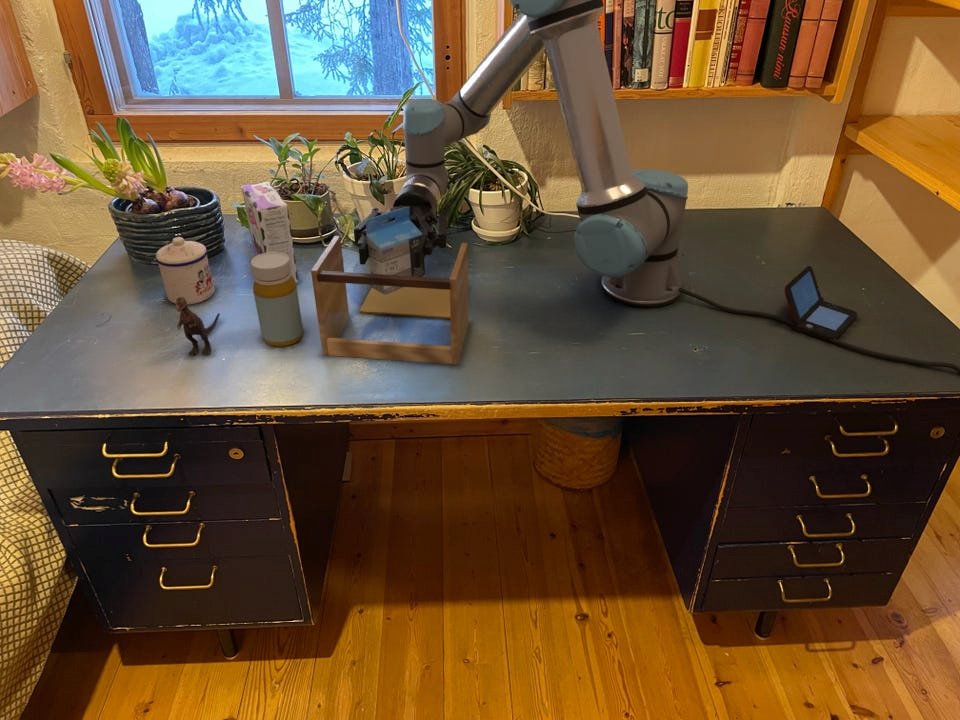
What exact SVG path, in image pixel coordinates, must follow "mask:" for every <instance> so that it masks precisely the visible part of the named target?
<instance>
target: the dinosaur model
mask: <svg viewBox="0 0 960 720" xmlns="http://www.w3.org/2000/svg"><path fill="white" fill-rule="evenodd" d="M175 310H176V312H178V313H180V314H179V321H178V323H177V325H176V328H177V329H178V330H179V331H180V330H181V328H182V325H183V332H184V336H185V338H186V339H187V340H188V341H190V343H191V346H192V348H191V350H190V351H189V352H188V356H190V357H191V356H192V357H194V356H197V355H198V353H199V340H197V339H196V338H195V337H193V336H200V338H201V341H203V342H204V343H203V344H204V345H203V346H204V347H203V349H202V350H201V355H202V356H204V357H206V356H209V355H211V353H212V345H211V342H210V341H209V338H208V333H210V332H211V331H212V330H213V329H214V328H215V326H216V323H217V322H218V320H219V318H220V315H221V313H219V312H218V313H217V315H216V316H215V318H214V319H213V322H212V323H211V325H210V326H208V327H206V328H205V324H204V322H203V321H204V320H202V319H201V317H200V316H198V314H196V313H195V312H193V311H192V310H191V309H190V308H189V306H188V305H187V301H186V300H185V298H184V297H179V298H177V299H176V304H175Z"/></svg>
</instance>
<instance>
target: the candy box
mask: <svg viewBox="0 0 960 720" xmlns="http://www.w3.org/2000/svg"><path fill="white" fill-rule="evenodd" d="M240 187H241V193H242V198H243V202H244V207H245V213H246V218H247V223H248V229H249V233H250V239H251V245H252V249H253V254H254V257H255V256H257V255H260V254H263V253H268V252H280V253H284V254H286V255H287V256H288V257H289V259H290V265H291V273H292V277H293V278H294V280H295V282H296V284H298V283H299V276H298V268H297V262H296V256H295V255H296V254H295V248H294V240H293V234H292V227H291V220H290V212H289V206H288V204H287V202H285V201H284V199H283V198H282V197H281V195H280V194H279V192H278V191H277V190H276V189H275V187H274V186H273V185H272V183H271V182H270V181H269V180H267V181H262V182H256V183H252V184H250V183H249V184H244V185H241V186H240Z"/></svg>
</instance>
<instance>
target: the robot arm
mask: <svg viewBox="0 0 960 720" xmlns="http://www.w3.org/2000/svg"><path fill="white" fill-rule="evenodd" d="M508 1H509V3H510V5H511V6H512V7H513V8H514V9H515V10H517V11H518V12H519V13H518V14H517V16H516V17H515V18H514V19H513V21H512V22H511V23H510V24H509V26H507V28H506V29H505V30H504V32H503V33H502V35H500V37H499V38H498V40H497V41H496V42H495V44H494V45H493V46H492V47H491V49H490V50H489V51H488V53H487V54H486V55H485V56H484V58H483V59H482V60H481V61H480V63H479V64H478V65H477V66H476V68H475V69H474V70H473V72H472V73H471V74H470V75H469V76H468V78H467V79H466V80H465V82H464V83H463V84H462V85H461V87H460V89H459V90H458V91H457V92H456V93H455V95H454V96H453V97H452V98H451V99H450V100H449V101H446V102H444V103H442V102H441V101H439V100H436V99H432V98H419V99H413V100H410V101H408V102H406V103H405V104H404V106H403V111H402V112H403V122H402V129H403V141H404V154H405V155H404V156H405V174H406V176H405V177H406V179H405V182H404V184H403V185H402V186H401V189H400V191H399V192H398V194H397V196H396V197H395V200H394V201H393V204H392V207H391V208H389V209H387V211H382V210H380V209H379V208H378V207H373V208H371V211H370V214H368V215H367V216H366V217H364V219H363V220H361V221H360V222H359V223H358V224H357V225H355V227H354V228H353V239H354V243H355V244H357V245H358V256H359V257H358V258H359V264H360V265H364V266H365V265H366V264H367V261H369V254H368V245H367V236H366V234H367V230H366V220H367V219H370V218H373V217H376V216H379V215H382V214H385V213H389V212H392V211H395V210H398V209H401V208H404V207H408V206H409V207H410V208H409V219H410V221H411V222H412V223H413V224H414V225H415V226H416V227H417V228H418V230H419V231H420V232H421V233H422V234H423V235H422V237H421V239H420V242H419V244H418V246H417V248H416V251H415V263H416V268H420V267H421V265H422V263H423V260H424V261H425V258H426V256H431V255H432V254H433V252H434V249H436V247H438V248H440V249H446V248H447V231H446V230H447V228H448V226H449V213H448V211H446V210H445V211H441V212H440V213H436V212H437V209H438V207H439V205H440V202H441V200H442V199H443V198H442V197H443V195H444V194H445V193H446V191H447V188H448V184H449V172H448V169H447V167H446V155H445V153H446V150H445V149H446V148H445V147H448V146H450V145H452V144H454V143H456V142H459V141H461V140H463V139H466V138H468V137H470V136H473V135H476V134H478V133H479V132H481V131H482V130H483V129H485V128H486V127H487V126H488V125H489V123H490V120H491V116H492V113H493V111H495V109H496V108H497V107H498V106H499V104H500V103H502V101H503V100H504V99H505V98H506V97H507V95H508V94H509V93H510V92H511V91H512V90H513V88H514V87H515V86H516V85H517V84H518V83H519V82H520V80H521V79H522V78H523V77H524V76H525V74H526V73H527V72H528V71H529V70H530V69H531V68H532V67H533V66H534V64H535V63H536V62H537V61H538V60H539V58H540V57H541V56H542V55H543V54H544V53H545V54H546V58H547V62H548V65H549V70H550V73H551V78H552V81H553V85H554V88H555V92H556V96H557V100H558V105H559V107H560V111H561V115H562V119H563V122H564V127H565V131H566V135H567V139H568V141H569V146H570V149H571V154H572V156H573V160H574V165H575V170H576V173H577V177H578V180H579V184H580V188H581V192H580V194H579V195H578V197H577V200H576V201H575V205H576V208H577V213H578V217H579V221H580V222H579V223H578V226H577V227H576V230H575V233H574V237H573V243H574V244H573V245H574V249H575V254H576V255H577V257H578V258H579V260H580V262H581V263H582V264H583V265H584V266H585V267H586V268H587V269H588V270H591V271H593V272H594V273H595V274H596V275H599V276H602V277H601V284H600V287H601V289H602V291H603V293H604V294H605V295H606V296H607V297H608V298H610V299H612V300H613V301H615V302H617V303H620V304H623V305H626V306H631V307H637V308H659V307H663V306H668V305H671V304H672V303H675V302H676V301H677V300H678V299H679V298H680V296H681V294H684V295H687V296H689V297H692V298H694V299H696V300H699V301H701V302H704V303H705V304H708V305H710V306H712V307H713V308H716V309H719V310H721V311H724V312H729V313H732V314H740V315H747V316H756V317H763V318H768V319H772V320H775V321H779V322H781V323H784V324H786V325H789V326H791V327H793V325H794V323H795V322H794V320H793V321H792V320H791V319H788V318H785V317H783V316H779V315H776V314H772V313H768V312H763V311H758V310H757V311H755V310H746V309H739V308H733V307H729V306H725V305H723V304H720V303H717V302H715V301H713V300H711V299H709V298H707V297H705V296H702V295H699V294H697V293H695V292H692V291H690V290H687V289H684V288H682V287H683V280H682V275H681V269H680V264H679V259H678V254H679V253H678V252H679V246H680V241H681V234H682V228H683V223H684V218H685V211H686V205H687V200H688V199H689V196H688V191H689V183H688V181H687V180H686V178H684V177H683V176H681V175H679V174H675V173H673V172H669V171H666V170H665V171H664V170H659V169H652V168H651V169H648V168H636V169H632V167H631V162H630V157H629V153H628V148H627V145H626V140H625V136H624V132H623V128H622V123H621V119H620V114H619V109H618V106H617V105H618V104H617V101H616V97H615V93H614V88H613V84H612V80H611V75H610V72H609V71H610V70H609V68H608V62H607V59H606V55H605V49H604V45H603V41H602V38H601V32H600V29H599V24H598V23H599V20H600V18H601V17H602V14H603V12H604V10H605V6H604V2H603V0H508ZM394 220H395V218H391V219H390V218H387V219H386V220H385V221H382V222H381V225H383V224H386V223H389V222H392V221H394ZM433 223H434V224H435V225H436V228H437V234H436V233H435V231H436V230H435V229H432V228H431V226H430V225H432V224H433ZM829 342H831V343H833V344H835V345H838V346H841V347H843V348H846V349H849V350H852V351H855V352H859V353H861V354H865V355H868V356H873V357H875V358H876V357H877V358H882V359H885V360H891V361H896V362H903V363H907V364H914V365H918V366H922V367H923V366H924V367H936V368H937V367H938V368H948V369H952V370H954V371H955V372H957V373H958V374H960V366H959V365H957V364H954V363H951V362H944V361H926V360H920V359H915V358H910V357H905V356H899V355H893V354H888V353H884V352H879V351H875V350H870V349H866V348H864V347H861V346H857V345H854V344H850V343H847V342H845V341H842V340H840V339H832V340H831V341H829ZM913 516H914V518H913V517H912V518H913V520H912V519H911V520H912V522H911V521H910V523H911V524H910V523H909V525H910V526H909V525H908V527H909V528H908V527H907V532H909V533H912V532H913V530H914V528H915V525H916V523H917V520H918V518H919V515H913Z"/></svg>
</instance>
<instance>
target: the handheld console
mask: <svg viewBox="0 0 960 720" xmlns="http://www.w3.org/2000/svg"><path fill="white" fill-rule="evenodd" d="M783 290H784V291H783V292H784V296H785V298H786V301H787V305H788V308H789V311H790V314H791V317H792V320H793V322H795V323H794V325H793V326H792V329H793V330H795V331H799V332H801V333H804V334H806V335H810V336H813V337H816V338H819V339H821V340H825V341H827V342H830V341H831V340H832V339H837V340H839V338H840V337H841V336H842V335H843V333H845V331H846V330H847V329H848V328H849V326H851V324H852V323H853V322H854V321H855V320H856V319H857V316H858V312H857V311H856V310H853V309H850V308H847V307H844V306H841V305H838V304H836V303H831V302H828V301H827V300H824V297H822V294H821V291H820V290H819V286H818V281H817V278H816V275H815V272H814V269H813V267H812V266H811V265H807V266H806V267H805V268H803V270H802V271H800V272H799V273H798V274H797V275H796V276H795V277H794V278H793V279H792V280H790V282H788V283H787V284H786V285H785V286H784V289H783Z"/></svg>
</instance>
